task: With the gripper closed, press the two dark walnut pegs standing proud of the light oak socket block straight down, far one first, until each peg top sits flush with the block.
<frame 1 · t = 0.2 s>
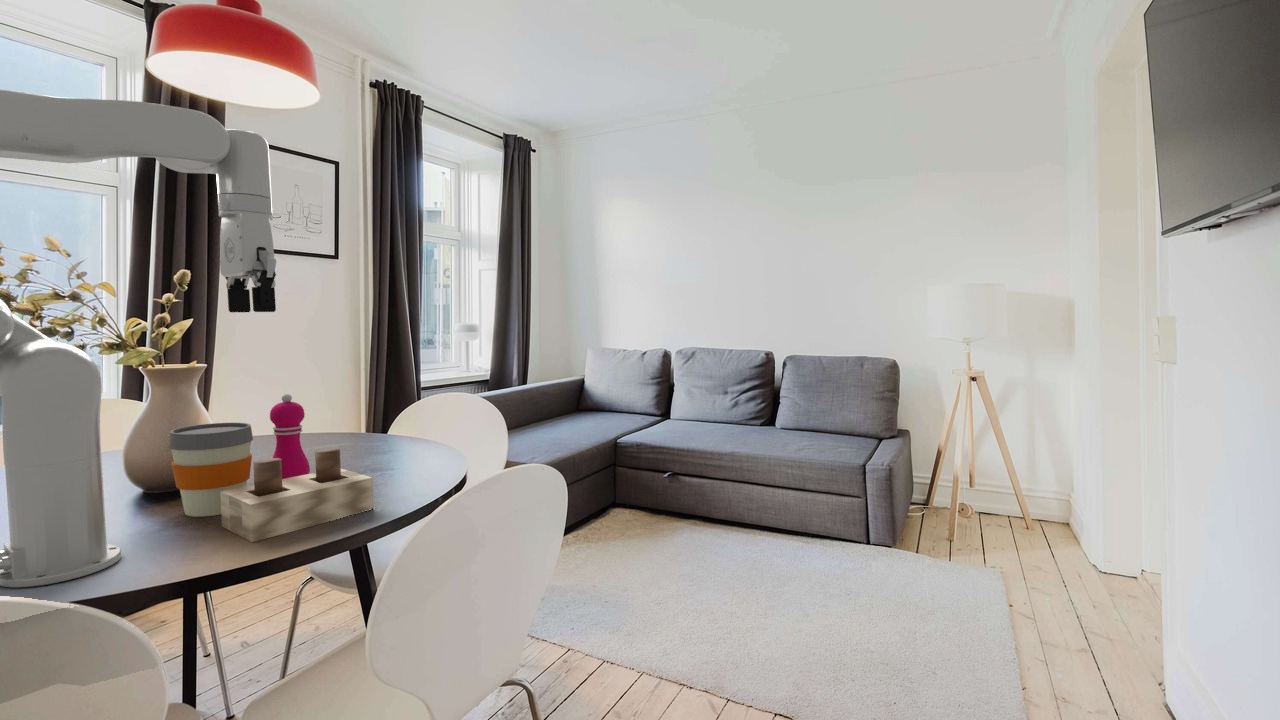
hand: (251, 312, 101), 36 cm above the table, tool pointing down, fingers open, 9 cm apart
reusable coffee cup: (215, 509, 110), on the table
oak socket block: (301, 517, 105), on the table
near walnut peg: (268, 478, 100), point 8 cm above the table, slide at 5.0 cm
pepper mill: (290, 493, 120), on the table
far walnut peg: (328, 466, 108), point 8 cm above the table, slide at 5.0 cm
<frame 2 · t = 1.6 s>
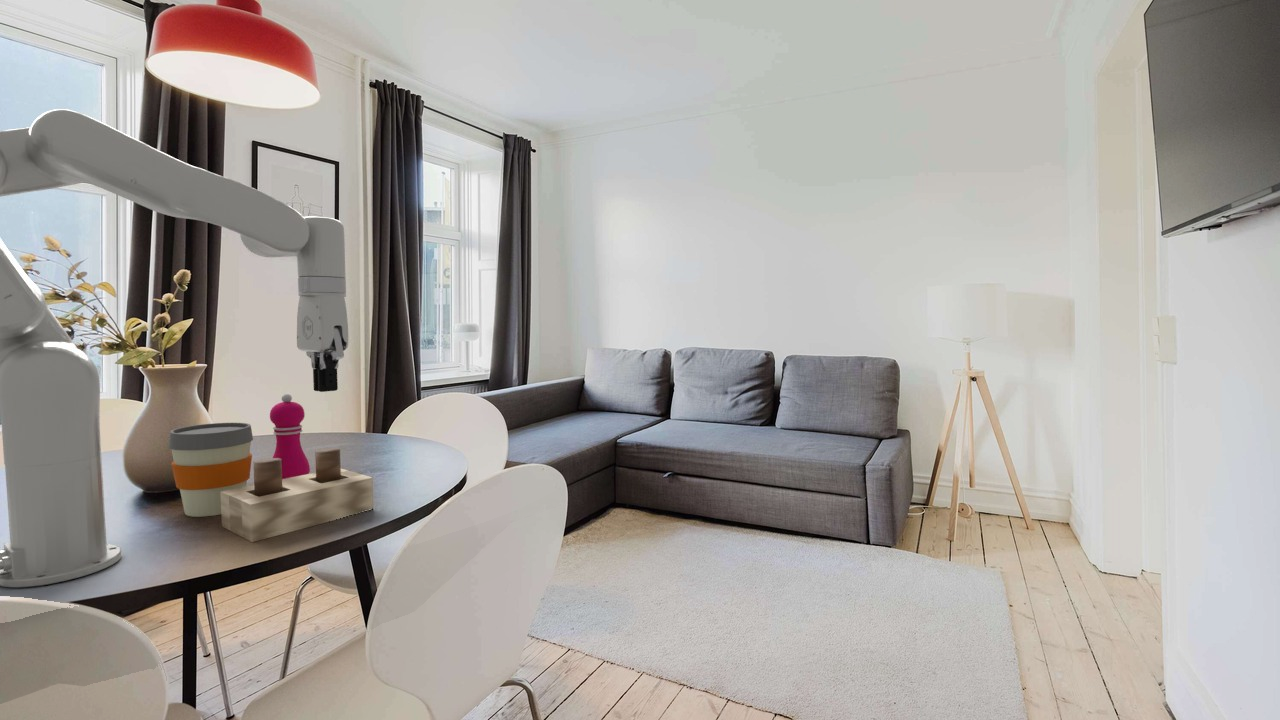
hand: (325, 390, 107), 22 cm above the table, tool pointing down, fingers closed
nothing on the table moved.
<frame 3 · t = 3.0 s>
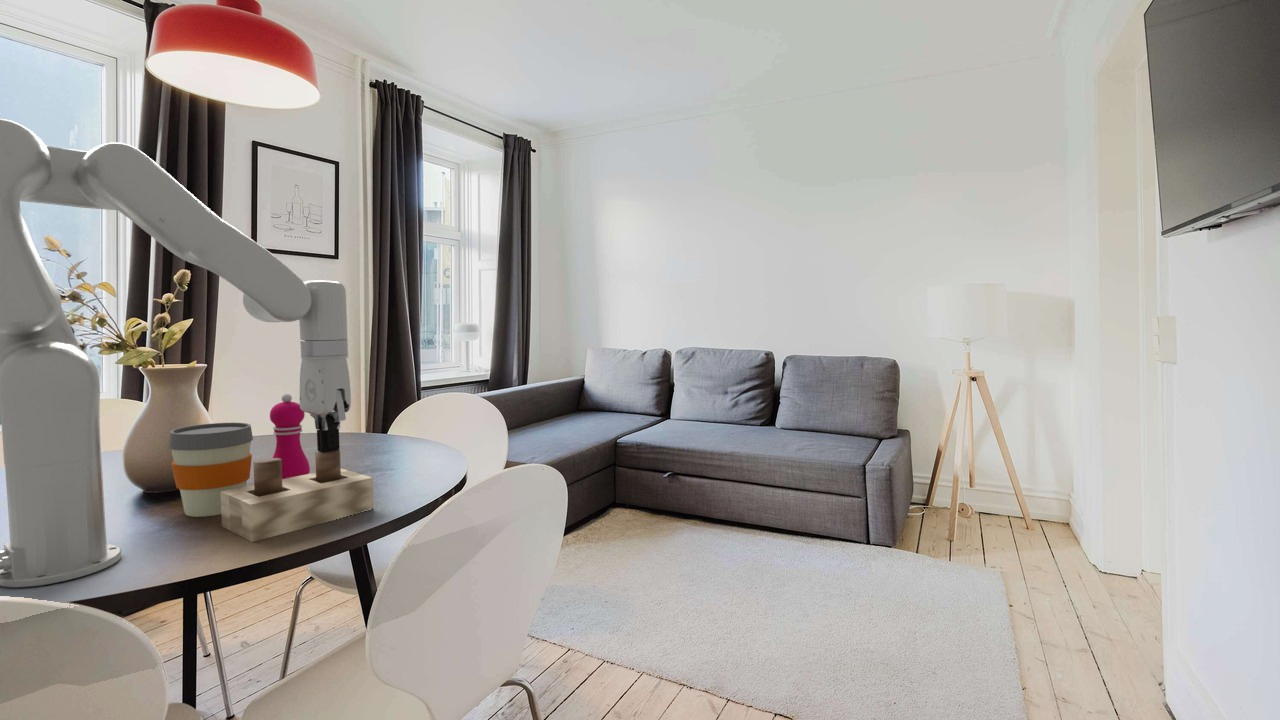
hand: (328, 450, 108), 11 cm above the table, tool pointing down, fingers closed
far walnut peg: (328, 467, 108), point 8 cm above the table, slide at 4.9 cm, touching gripper
everything else where it was.
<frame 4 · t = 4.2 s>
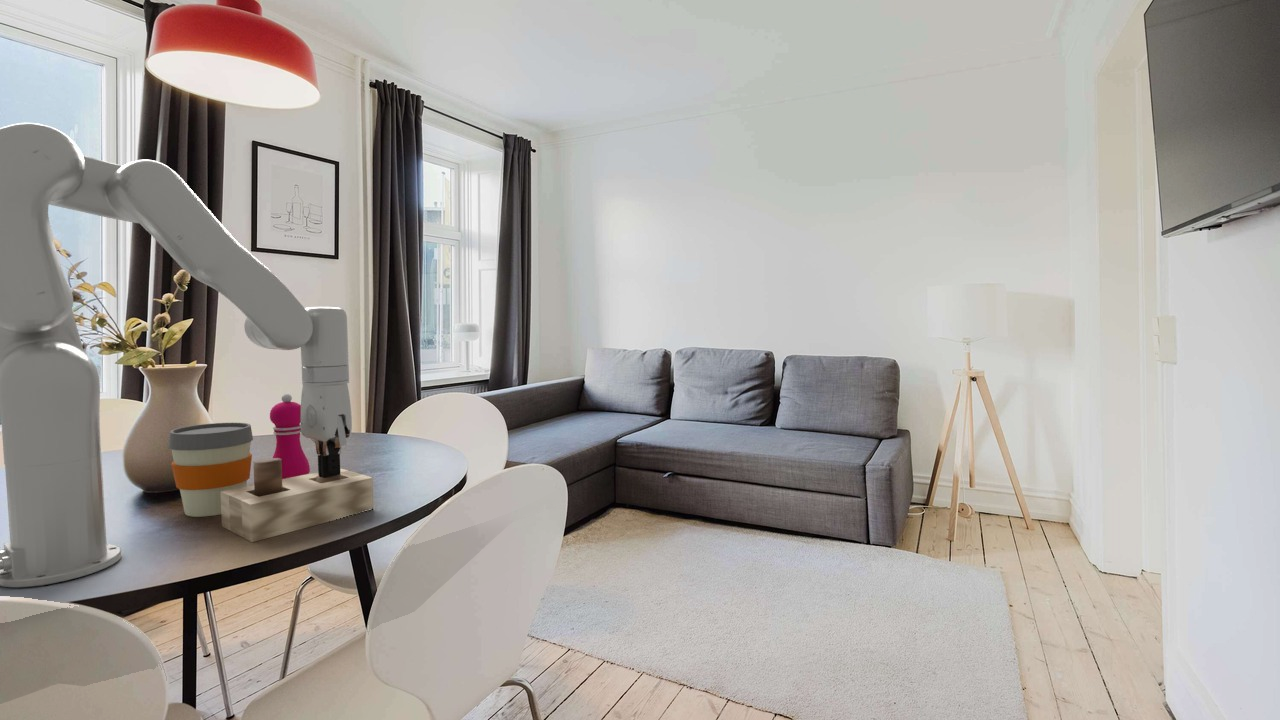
hand: (329, 475, 109), 6 cm above the table, tool pointing down, fingers closed
far walnut peg: (329, 492, 109), point 3 cm above the table, slide at 0.3 cm, touching gripper
everything else where it was.
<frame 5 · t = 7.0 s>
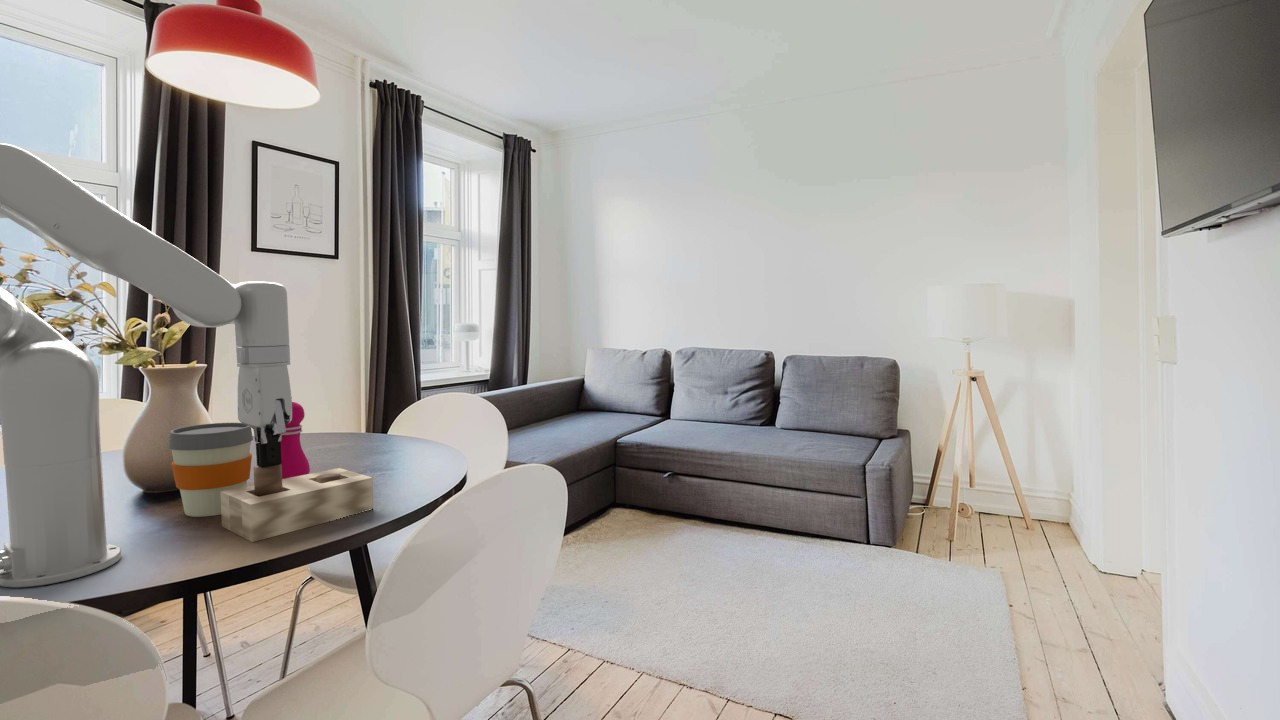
hand: (269, 465, 100), 10 cm above the table, tool pointing down, fingers closed
near walnut peg: (268, 483, 100), point 7 cm above the table, slide at 4.1 cm, touching gripper
far walnut peg: (329, 492, 109), point 3 cm above the table, slide at 0.3 cm
everything else where it was.
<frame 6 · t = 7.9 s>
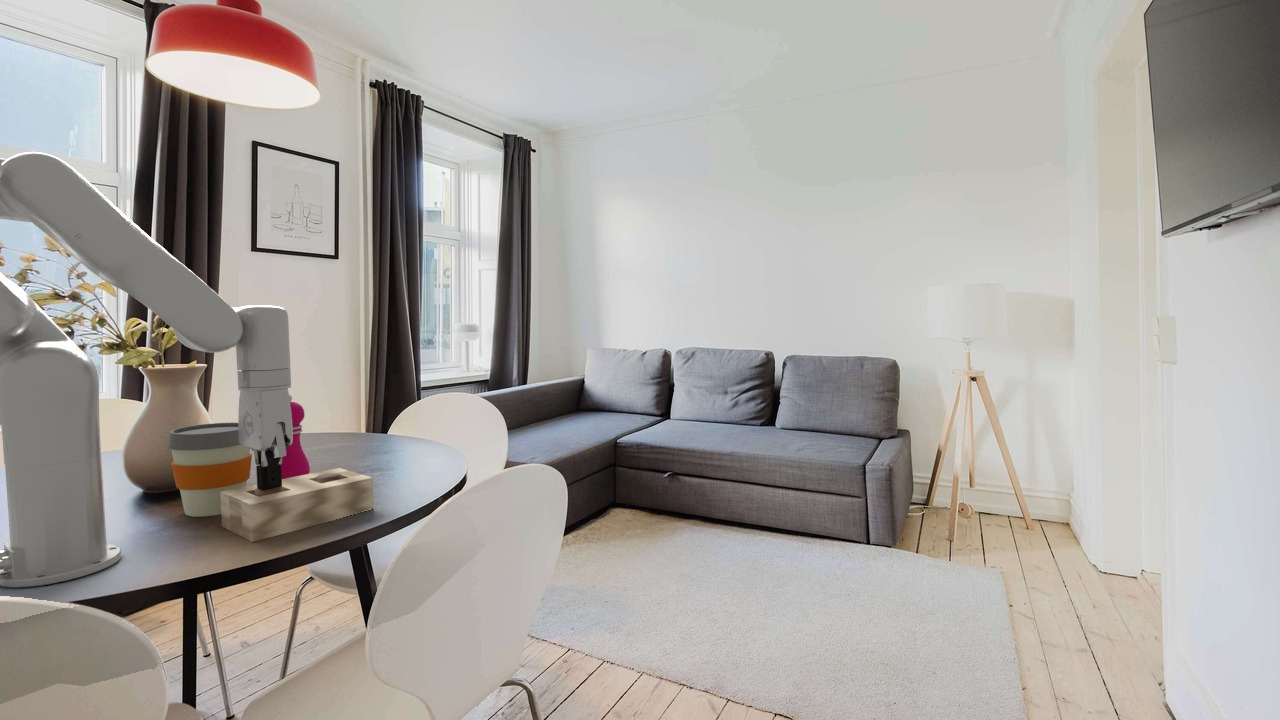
hand: (269, 487, 101), 6 cm above the table, tool pointing down, fingers closed
near walnut peg: (269, 505, 101), point 3 cm above the table, slide at 0.3 cm, touching gripper
everything else where it was.
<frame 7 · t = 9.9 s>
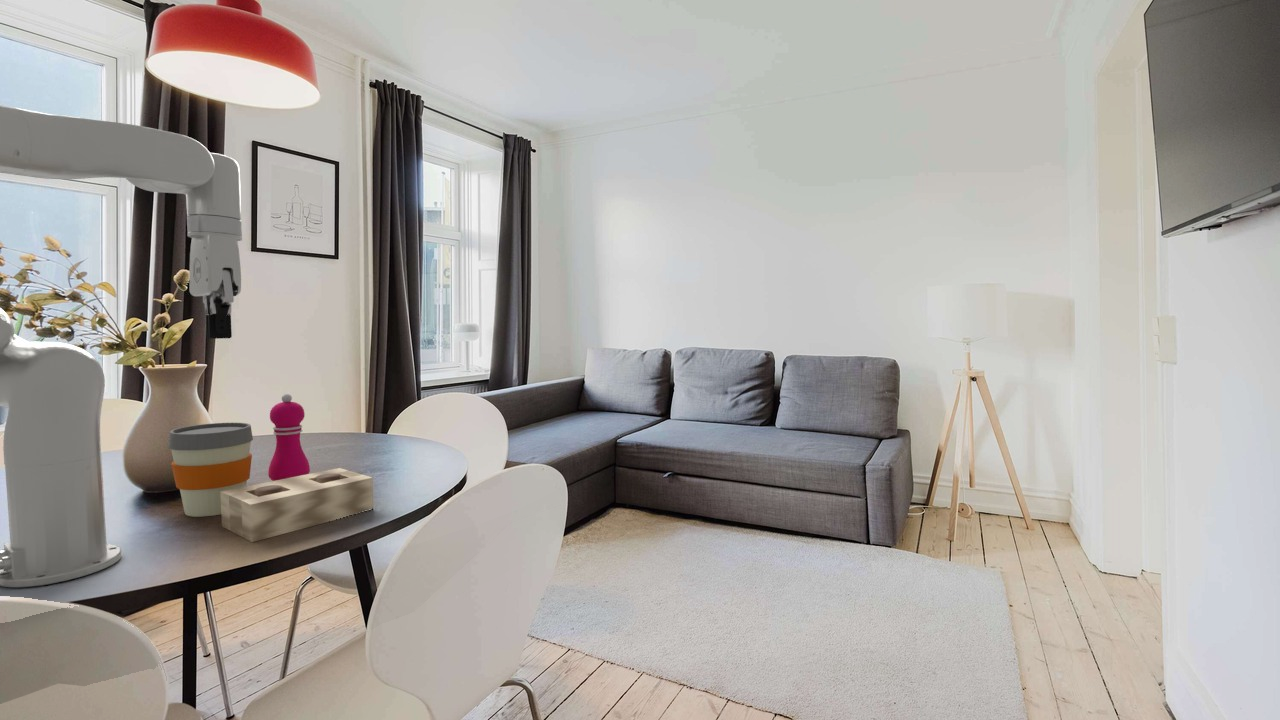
hand: (219, 338, 102), 32 cm above the table, tool pointing down, fingers closed
near walnut peg: (269, 505, 101), point 3 cm above the table, slide at 0.3 cm
everything else where it was.
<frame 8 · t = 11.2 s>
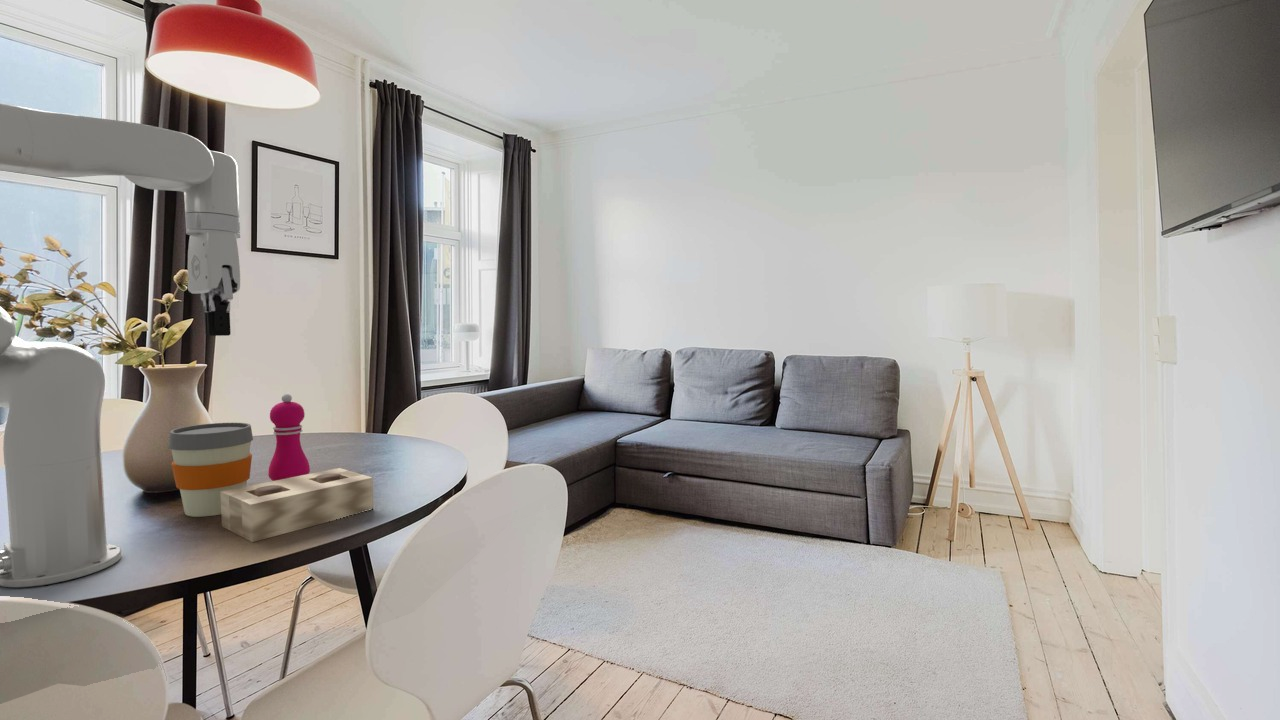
hand: (218, 335, 102), 32 cm above the table, tool pointing down, fingers closed
nothing on the table moved.
at the end: far walnut peg slide at 0.3 cm; near walnut peg slide at 0.3 cm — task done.
